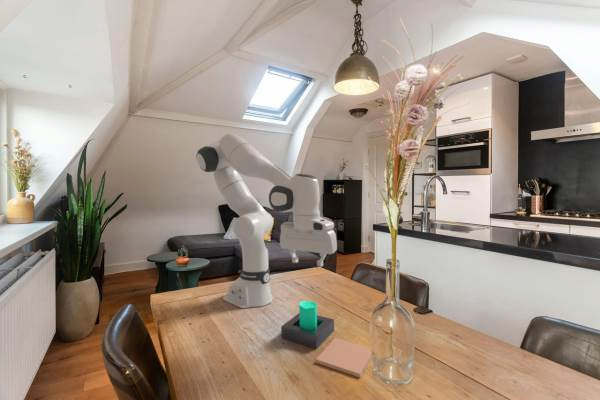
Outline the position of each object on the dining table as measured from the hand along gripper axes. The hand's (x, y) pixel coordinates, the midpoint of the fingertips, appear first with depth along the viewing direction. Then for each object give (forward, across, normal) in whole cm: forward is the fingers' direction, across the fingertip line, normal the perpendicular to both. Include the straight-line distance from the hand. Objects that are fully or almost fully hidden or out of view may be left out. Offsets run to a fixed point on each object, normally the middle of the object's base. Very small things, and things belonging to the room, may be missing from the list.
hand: (307, 264), depth 97 cm
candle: (+24, 0, 0) cm, 24 cm away
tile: (+24, +16, -6) cm, 29 cm away
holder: (+24, 0, 0) cm, 24 cm away
